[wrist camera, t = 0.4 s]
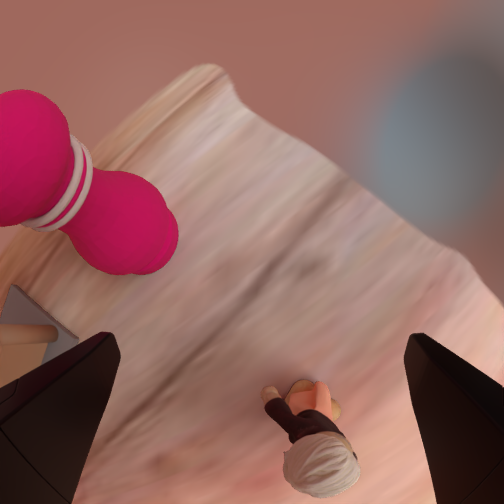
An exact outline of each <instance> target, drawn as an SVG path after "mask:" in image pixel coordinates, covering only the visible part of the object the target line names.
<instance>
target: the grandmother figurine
mask: <svg viewBox="0 0 504 504" xmlns="http://www.w3.org/2000/svg"><path fill="white" fill-rule="evenodd" d="M261 398H262V399H263V401H264V404H265V407H264V408H265V411H266V413H267V414H268V415H269V416H270V417H271V418H272V419H273V420H274V421H276V422H277V423H278V424H279V425H280V426H281V427H282V428H283V429H284V430H285V431H286V432H287V433H288V434H289V440H290V442H291V443H292V444H293V445H292V447H291V448H290V450H289V451H287V452H285V451H284V461H285V462H284V464H283V473H284V477H285V479H286V481H288V482H289V483H290V484H291V485H292V487H293V488H294V489H296V490H298V491H299V492H302V493H305V494H309V495H311V496H313V497H317V498H327V497H331V496H335V495H337V494H339V493H341V492H343V491H345V490H347V489H348V488H350V487H351V486H353V485H354V484H355V483H356V482H357V480H358V478H359V476H360V465H359V463H358V461H357V456H356V454H355V453H354V452H353V450H352V447H351V444H350V443H349V441H348V440H347V439H346V437H345V436H344V435H343V433H342V432H340V431H339V429H338V428H337V426H336V425H335V424H334V423H333V421H334V420H336V419H337V418H338V417H339V415H340V413H341V408H340V406H339V404H338V403H337V402H336V401H335V400H333V399H330V393H329V390H328V387H327V386H326V385H325V384H324V383H322V382H320V381H318V382H316V383H315V385H314V384H313V383H311V382H310V381H308V380H299V381H297V382H296V383H295V384H294V385H293V387H292V388H291V390H290V391H289V393H288V395H287V396H286V398H285V401H284V399H282V398H281V396H280V395H279V394H278V391H277V389H276V388H275V387H273V386H267V387H265V388H263V389H262V391H261Z"/></svg>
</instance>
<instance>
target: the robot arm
mask: <svg viewBox="0 0 504 504" xmlns="http://www.w3.org/2000/svg"><path fill="white" fill-rule="evenodd" d="M120 358H121V355H120V350H119V348H118V345H117V342H116V339H115V336H114V334H113V333H111V332H99V333H98V334H96V335H94V336H92V337H90V338H89V339H87V340H85V341H83V342H81V343H80V344H78V345H76V346H74V347H73V348H71V349H69V350H67V351H65V352H64V353H62V354H60V355H58V356H56V357H55V358H53V359H51V360H49V361H47V362H46V363H44V364H42V365H40V366H39V367H37V368H35V369H33V370H31V371H30V372H28V373H26V374H24V375H23V376H21V377H19V378H17V379H15V380H14V381H12V382H10V383H8V384H6V385H4V386H3V387H1V388H0V504H72V501H73V498H74V494H75V491H76V488H77V485H78V482H79V479H80V476H81V473H82V470H83V468H84V465H85V462H86V459H87V456H88V453H89V451H90V448H91V445H92V442H93V440H94V437H95V434H96V432H97V429H98V426H99V424H100V421H101V418H102V416H103V413H104V411H105V408H106V406H107V403H108V400H109V397H110V394H111V391H112V387H113V384H114V380H115V376H116V373H117V370H118V366H119V363H120ZM404 365H405V370H406V375H407V380H408V385H409V391H410V396H411V401H412V406H413V410H414V413H415V416H416V420H417V423H418V427H419V431H420V434H421V438H422V442H423V445H424V449H425V453H426V457H427V461H428V465H429V470H430V474H431V478H432V483H433V487H434V492H435V497H436V502H437V504H504V387H502V385H500V384H499V383H497V382H496V381H495V380H493V379H492V378H490V377H489V376H487V375H486V374H484V373H483V372H481V371H480V370H478V369H477V368H475V367H474V366H473V365H471V364H470V363H468V362H467V361H465V360H464V359H462V358H461V357H459V356H458V355H456V354H455V353H453V352H452V351H450V350H449V349H447V348H446V347H444V346H443V345H441V344H440V343H438V342H437V341H435V340H434V339H432V338H431V337H429V336H428V335H426V334H424V333H413V334H411V335H410V336H409V339H408V343H407V346H406V350H405V354H404Z"/></svg>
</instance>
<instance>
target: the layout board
mask: <svg viewBox="0 0 504 504" xmlns="http://www.w3.org/2000/svg"><path fill="white" fill-rule="evenodd" d="M78 341H79V338H77V337H76V336H75V335H74V334H72V333H71V332H70V331H69V330H67V329H66V328H65V327H64V326H62V325H61V324H60V323H59V322H57V321H56V320H55V319H54V318H53V317H52V316H50V315H49V314H48V313H47V312H46V311H44V310H43V309H42V308H41V307H40V306H39V305H38V304H37V303H35V302H34V301H33V300H32V299H31V298H30V297H29V296H28V295H27V294H25V293H24V292H23V291H22V290H21V289H20V288H19V287H18V286H17V285H13V284H11V287H10V289H9V292H8V295H7V298H6V301H5V304H4V307H3V310H2V314H1V317H0V388H1V387H3V386H4V385H6V384H8V383H10V382H12V381H14V380H15V379H17V378H19V377H21V376H23V375H24V374H26V373H28V372H30V371H31V370H33V369H35V368H37V367H39V366H40V365H42V364H44V363H46V362H47V361H49V360H51V359H53V358H55V357H56V356H58V355H60V354H62V353H64V352H65V351H67V350H69V349H71V348H73V347H74V346H76V345H77V343H78Z"/></svg>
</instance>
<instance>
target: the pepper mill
mask: <svg viewBox="0 0 504 504" xmlns="http://www.w3.org/2000/svg"><path fill="white" fill-rule="evenodd" d="M17 224H21V225H23V226H26V227H30V228H32V229H34V230H36V231H39V232H49V231H54V230H56V229H59V230H61V231H63V232H65V233H67V234H68V235H69V237H70V239H71V241H72V243H73V245H74V247H75V248H76V250H77V251H78V253H79V254H80V255H81V256H82V257H83V258H84V259H85V260H86V261H87V262H88V263H89V264H90V265H91V266H93V267H95V268H96V269H98V270H101V271H103V272H105V273H108V274H113V275H126V274H130V273H133V274H138V275H145V274H149V273H153V272H155V271H157V270H159V269H160V268H162V267H163V266H164V265H165V264H166V263H167V262H168V261H169V260H170V258H171V257H172V255H173V254H174V251H175V249H176V246H177V242H178V225H177V222H176V219H175V217H174V215H173V214H172V212H171V211H170V210H169V209H168V208H167V206H166V203H165V201H164V199H163V197H162V195H161V193H160V192H159V191H158V189H157V188H156V187H154V186H153V185H152V184H151V183H149V182H148V181H146V180H145V179H143V178H142V177H140V176H137V175H135V174H131V173H128V172H123V171H102V170H99V169H96V168H94V167H93V164H92V158H91V155H90V153H89V151H88V149H87V148H86V147H85V146H84V145H83V144H82V143H80V142H79V141H78V140H77V139H76V138H75V137H74V136H73V135H71V134H70V133H69V128H68V123H67V120H66V118H65V116H64V115H63V113H62V112H61V111H60V109H59V108H58V106H57V105H56V104H54V103H53V102H52V101H51V100H50V99H48V98H47V97H46V96H44V95H42V94H40V93H37V92H34V91H30V90H23V89H22V90H12V91H8V92H5V93H2V94H0V227H5V226H12V225H17Z"/></svg>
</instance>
